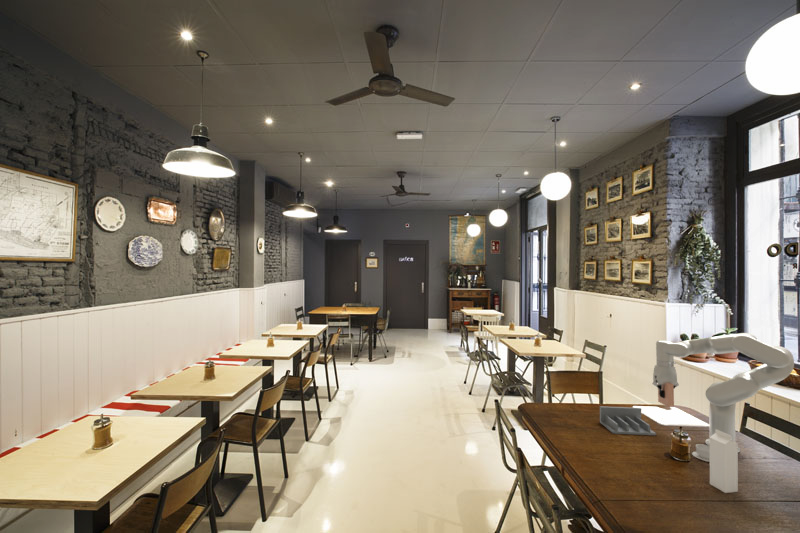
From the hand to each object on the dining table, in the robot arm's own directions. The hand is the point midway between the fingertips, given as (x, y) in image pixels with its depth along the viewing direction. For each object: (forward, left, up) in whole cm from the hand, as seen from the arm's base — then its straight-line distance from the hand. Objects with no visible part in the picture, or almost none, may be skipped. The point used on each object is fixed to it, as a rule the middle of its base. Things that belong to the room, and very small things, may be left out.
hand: (665, 397), depth 192 cm
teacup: (-28, +1, -19) cm, 34 cm away
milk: (-53, +12, -18) cm, 57 cm away
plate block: (0, 0, -4) cm, 4 cm away
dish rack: (0, +20, -18) cm, 27 cm away
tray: (+21, -16, -19) cm, 33 cm away
